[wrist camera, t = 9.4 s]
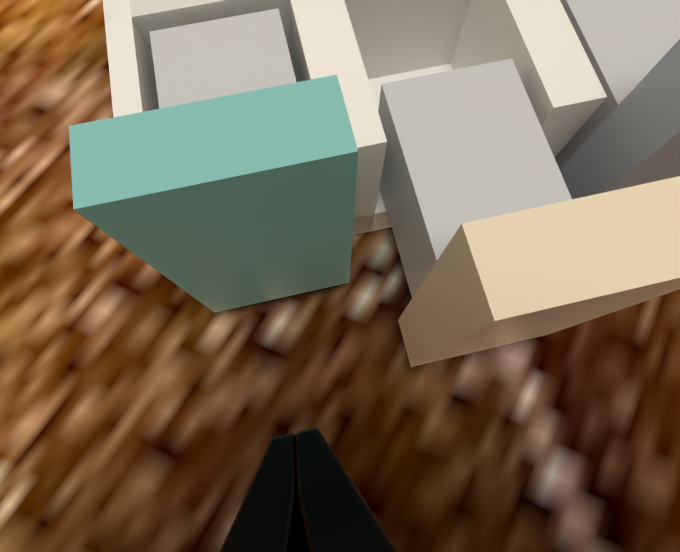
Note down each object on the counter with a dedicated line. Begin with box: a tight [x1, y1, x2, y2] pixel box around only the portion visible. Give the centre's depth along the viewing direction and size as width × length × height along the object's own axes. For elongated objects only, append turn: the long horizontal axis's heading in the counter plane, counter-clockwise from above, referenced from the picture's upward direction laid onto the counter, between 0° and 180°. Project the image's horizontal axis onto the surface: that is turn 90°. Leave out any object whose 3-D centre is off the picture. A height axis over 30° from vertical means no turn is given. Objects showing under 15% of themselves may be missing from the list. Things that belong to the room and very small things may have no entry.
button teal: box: [69, 8, 358, 313], centre depth 11 cm, size 7×4×8 cm, turn 13°
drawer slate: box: [555, 0, 680, 199], centre depth 12 cm, size 7×4×8 cm, turn 13°
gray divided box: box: [103, 0, 607, 235], centre depth 14 cm, size 6×17×6 cm, turn 103°
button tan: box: [378, 59, 680, 367], centre depth 11 cm, size 7×4×8 cm, turn 13°
